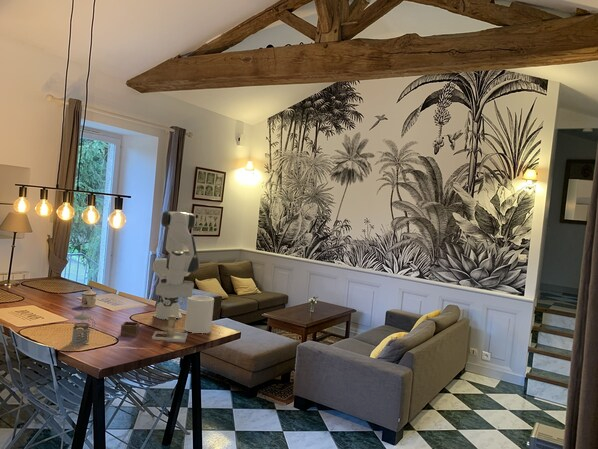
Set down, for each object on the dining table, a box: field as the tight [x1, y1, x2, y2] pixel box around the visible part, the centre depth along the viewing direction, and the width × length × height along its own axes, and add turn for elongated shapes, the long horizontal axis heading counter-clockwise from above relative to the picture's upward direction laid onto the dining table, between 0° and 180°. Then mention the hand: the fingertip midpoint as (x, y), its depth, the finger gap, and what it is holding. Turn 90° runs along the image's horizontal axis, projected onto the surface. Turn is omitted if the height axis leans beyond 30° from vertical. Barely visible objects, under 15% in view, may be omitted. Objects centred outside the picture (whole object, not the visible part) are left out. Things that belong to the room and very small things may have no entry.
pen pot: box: [119, 320, 140, 338], centre depth 245 cm, size 8×8×7 cm
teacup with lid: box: [80, 288, 97, 309], centre depth 299 cm, size 12×9×12 cm
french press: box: [69, 295, 96, 347], centre depth 226 cm, size 10×12×25 cm
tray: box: [151, 330, 189, 343], centre depth 248 cm, size 12×18×2 cm, turn 99°
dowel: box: [165, 316, 177, 338], centre depth 248 cm, size 4×4×12 cm
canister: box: [184, 294, 215, 335], centre depth 270 cm, size 16×16×20 cm
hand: (173, 303), depth 248 cm, fingers open, 8 cm apart
